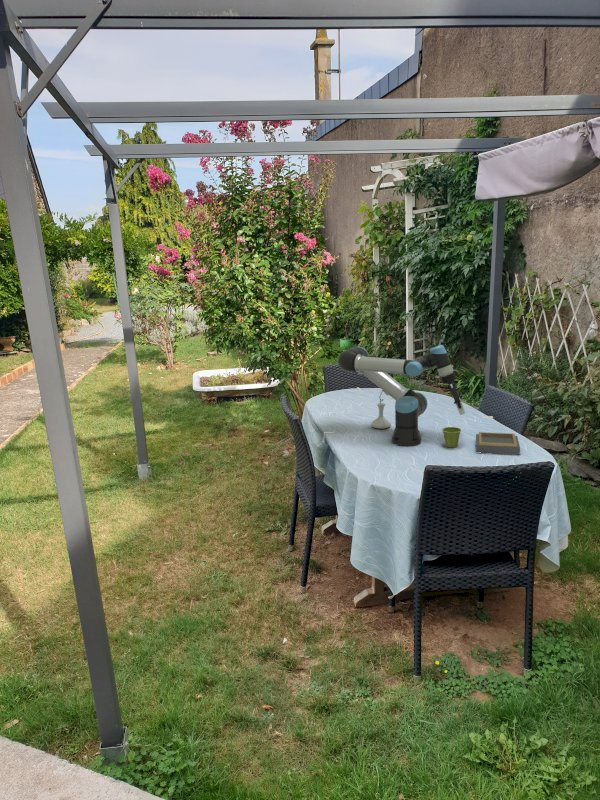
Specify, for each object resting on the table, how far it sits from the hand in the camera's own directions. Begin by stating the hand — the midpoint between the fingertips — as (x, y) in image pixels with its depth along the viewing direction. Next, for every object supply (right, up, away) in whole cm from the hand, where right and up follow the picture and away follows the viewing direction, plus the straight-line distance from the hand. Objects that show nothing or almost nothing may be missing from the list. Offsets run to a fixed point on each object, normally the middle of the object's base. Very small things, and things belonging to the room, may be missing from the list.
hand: (462, 412), depth 296 cm
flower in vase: (-38, -9, +32) cm, 50 cm away
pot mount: (+14, -18, -11) cm, 25 cm away
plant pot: (-7, -17, -5) cm, 19 cm away
